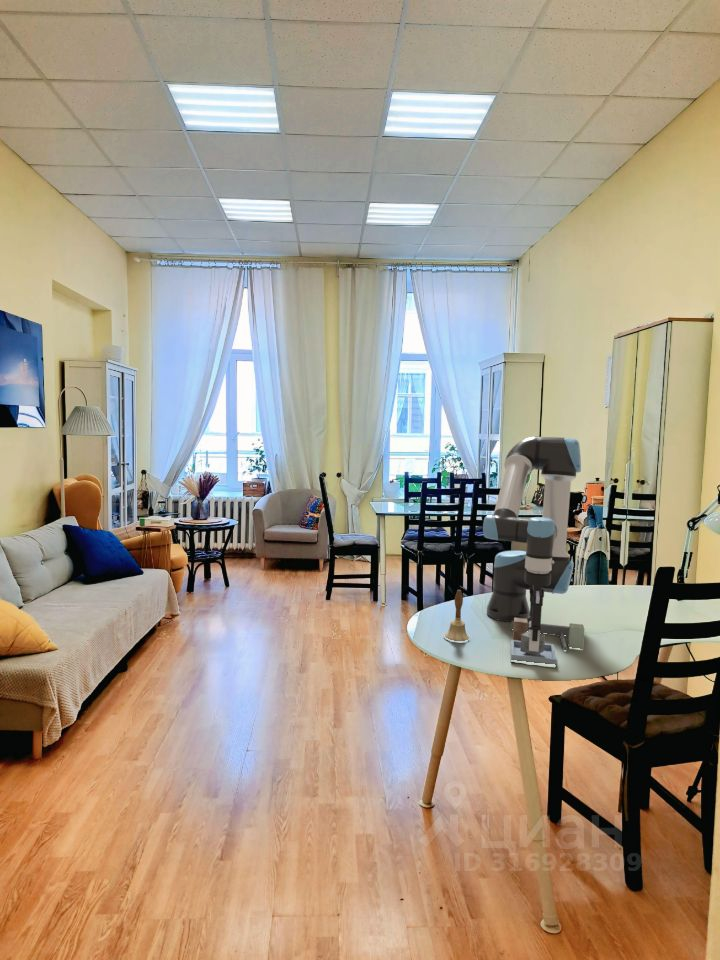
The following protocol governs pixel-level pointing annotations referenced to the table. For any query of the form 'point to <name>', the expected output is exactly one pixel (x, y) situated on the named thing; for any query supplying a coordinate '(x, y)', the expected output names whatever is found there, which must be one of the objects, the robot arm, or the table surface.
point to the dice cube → (525, 644)
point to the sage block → (576, 635)
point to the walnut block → (519, 628)
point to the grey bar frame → (552, 631)
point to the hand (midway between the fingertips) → (533, 646)
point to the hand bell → (457, 622)
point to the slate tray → (544, 657)
